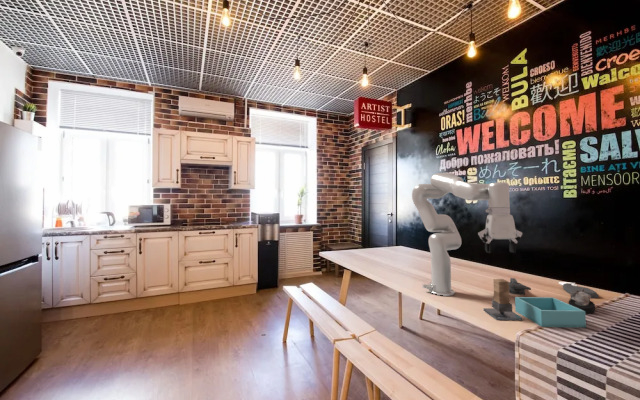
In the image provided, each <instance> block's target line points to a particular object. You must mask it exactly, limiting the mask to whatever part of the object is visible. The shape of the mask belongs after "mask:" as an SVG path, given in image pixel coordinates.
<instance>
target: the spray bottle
mask: <svg viewBox="0 0 640 400" xmlns="http://www.w3.org/2000/svg"><path fill="white" fill-rule="evenodd" d="M558 285H562V288H563V291H564V292H566V293H568V294H569V295H570V293H571V292H574V291H578V290H582V289H584V293H586V294H589V295H591V299H599V294H598V293H597V292H596V291H594V290H593V289H592V288H589V287H585V286H579V285H577V284H576V282H567V281H559V282H558Z"/></svg>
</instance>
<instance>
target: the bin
mask: <svg viewBox="0 0 640 400" xmlns="http://www.w3.org/2000/svg"><path fill="white" fill-rule="evenodd" d="M514 303H515V304H514V305H515V307H514V309H515V312H516V313H517V314H518V315H519V314H520V315H521V316H523V317H525V318H526V319H528V320H530V321H531V322H533V323H534V324H536V325H538V326H539V327H541V328H579V327H583V328H587V323H586V322H587V320H586V317H587V316H586V314H585V311H583V310H581V309H579V308H576V307H574V306H572V305H569V303H567V302H565V301H563V300H560V299H558V298H555V297H544V296H543V297H541V296H540V297H538V296H535V297H534V296H533V297H532V296H531V297H529V296H527V297H526V296H525V297H524V296H514Z"/></svg>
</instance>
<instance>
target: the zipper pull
mask: <svg viewBox="0 0 640 400" xmlns="http://www.w3.org/2000/svg"><path fill="white" fill-rule="evenodd" d="M531 290H532V288H531V287H530V286H527V285H525V284H522V283H521V282H518V280H517V278H514V277H513V278H512V277H510V281H509V294H510V295H511V294H512V295H518V296H522V295H523V296H525V295H526V291H531Z"/></svg>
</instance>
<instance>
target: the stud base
mask: <svg viewBox="0 0 640 400" xmlns="http://www.w3.org/2000/svg"><path fill="white" fill-rule="evenodd" d="M483 311H484V312H485V313H486V314H487V315H489V316H490V317H492V318H493V319H494V320H495V321H523V320H524V319H523V317H522V316H520V315H519V314H518V313H515V312H513V311H512V312H499V311H497V310H496V309H494V308H493V307H492V308H489V307H488V308H487V307H486V308H485V307H484V308H483Z"/></svg>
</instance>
